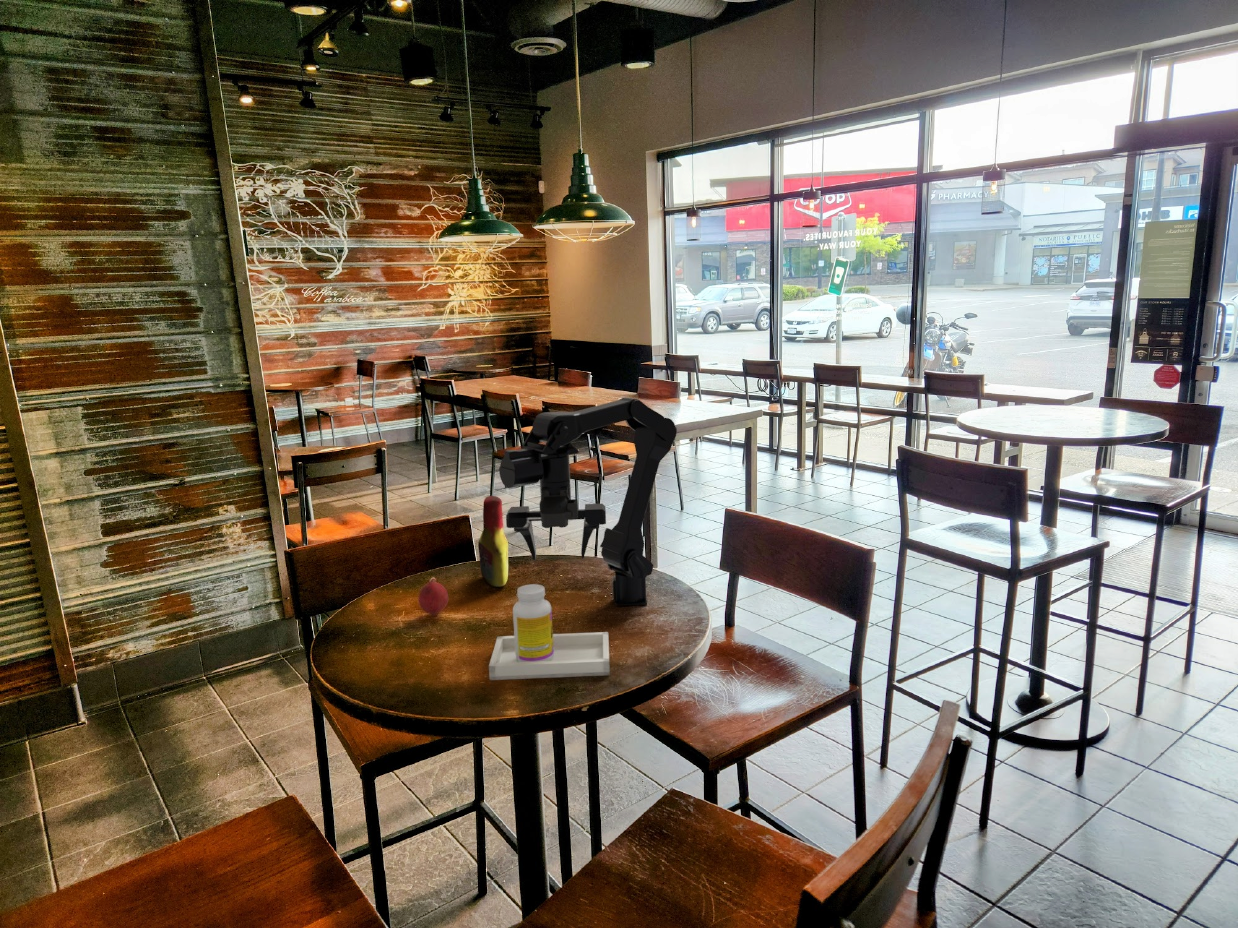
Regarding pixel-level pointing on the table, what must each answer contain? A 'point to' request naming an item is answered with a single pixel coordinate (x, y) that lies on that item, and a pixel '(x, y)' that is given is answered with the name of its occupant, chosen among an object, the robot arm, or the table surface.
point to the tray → (554, 658)
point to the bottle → (493, 544)
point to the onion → (433, 597)
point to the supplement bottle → (533, 625)
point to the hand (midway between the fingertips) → (558, 558)
